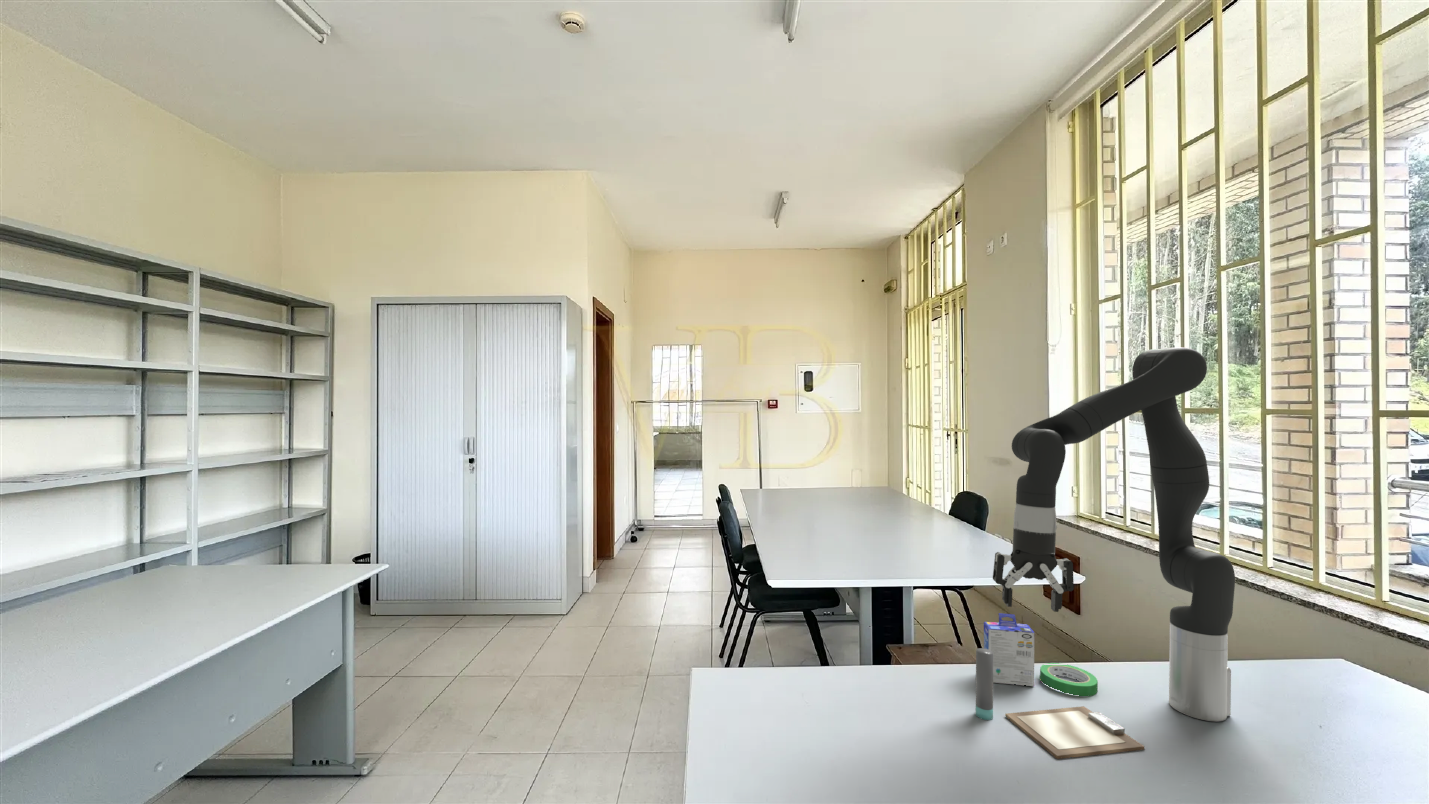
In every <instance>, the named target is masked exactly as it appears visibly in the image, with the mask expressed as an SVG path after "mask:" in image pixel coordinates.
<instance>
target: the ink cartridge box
mask: <svg viewBox="0 0 1429 804" xmlns="http://www.w3.org/2000/svg"><path fill="white" fill-rule="evenodd" d="M1003 618H1009V619H1012V620H1003ZM983 648H984V649H989V650H991V651H992V652H993V653H994V654H993V684H994V683H996V684H1005V685H1014V684H1016V686H1024V685H1026V686H1025V687H1035V631H1034V630H1033V629H1032V628H1031V627H1030V625H1028V624H1026V623H1025V624H1023V623H1017V620H1016V615H1015V614H1012V613H1000V612H999V613H998V622H995V621H994V622H992V621H983Z"/></svg>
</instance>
